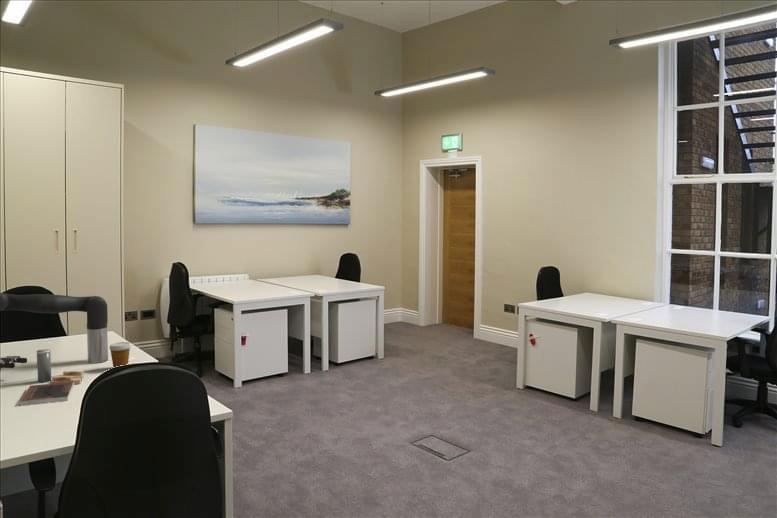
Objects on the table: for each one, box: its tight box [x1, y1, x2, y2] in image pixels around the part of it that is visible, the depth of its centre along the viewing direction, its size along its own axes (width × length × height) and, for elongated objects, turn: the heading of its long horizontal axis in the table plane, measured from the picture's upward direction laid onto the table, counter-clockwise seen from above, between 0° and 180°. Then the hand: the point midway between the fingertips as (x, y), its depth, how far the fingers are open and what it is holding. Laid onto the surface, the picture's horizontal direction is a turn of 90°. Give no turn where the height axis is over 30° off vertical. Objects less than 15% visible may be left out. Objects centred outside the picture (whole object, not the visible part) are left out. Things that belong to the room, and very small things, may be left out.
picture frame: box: [19, 382, 75, 407], centre depth 231 cm, size 16×2×22 cm
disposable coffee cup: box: [108, 341, 132, 367], centre depth 271 cm, size 10×10×12 cm
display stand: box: [50, 370, 84, 386], centre depth 248 cm, size 12×11×4 cm
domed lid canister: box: [36, 348, 52, 384], centre depth 249 cm, size 5×5×14 cm
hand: (20, 362), depth 248 cm, fingers open, 8 cm apart
